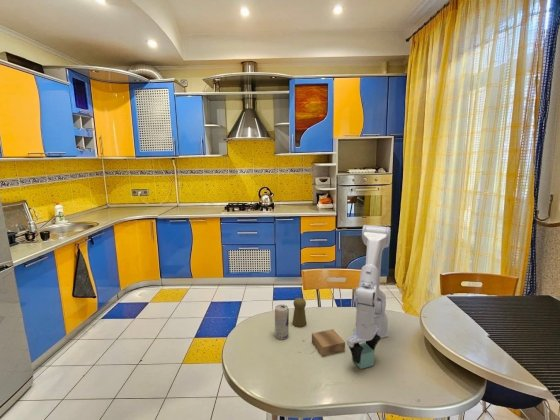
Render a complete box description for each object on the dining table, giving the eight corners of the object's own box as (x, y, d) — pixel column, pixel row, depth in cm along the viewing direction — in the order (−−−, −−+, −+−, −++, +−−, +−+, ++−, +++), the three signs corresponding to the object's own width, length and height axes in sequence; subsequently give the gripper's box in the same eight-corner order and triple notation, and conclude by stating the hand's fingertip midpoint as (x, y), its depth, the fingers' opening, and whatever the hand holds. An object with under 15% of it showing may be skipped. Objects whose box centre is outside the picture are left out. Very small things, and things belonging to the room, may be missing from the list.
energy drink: (290, 333, 121) (290, 305, 119) (286, 341, 116) (286, 312, 114) (277, 331, 123) (277, 303, 121) (272, 338, 118) (272, 309, 116)
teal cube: (364, 355, 107) (365, 342, 106) (373, 365, 102) (374, 351, 101) (351, 359, 105) (352, 345, 104) (360, 368, 100) (361, 354, 100)
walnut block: (332, 338, 118) (332, 329, 118) (344, 352, 110) (345, 342, 109) (311, 343, 116) (311, 333, 115) (322, 357, 107) (322, 347, 106)
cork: (305, 328, 125) (306, 303, 123) (291, 326, 126) (291, 302, 124) (307, 320, 131) (307, 296, 129) (293, 319, 132) (293, 295, 130)
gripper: (368, 309, 108) (367, 344, 111) (340, 322, 100) (339, 359, 102) (386, 318, 103) (383, 354, 105) (357, 332, 94) (355, 371, 97)
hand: (362, 357), depth 103 cm, fingers closed on teal cube, 6 cm apart
